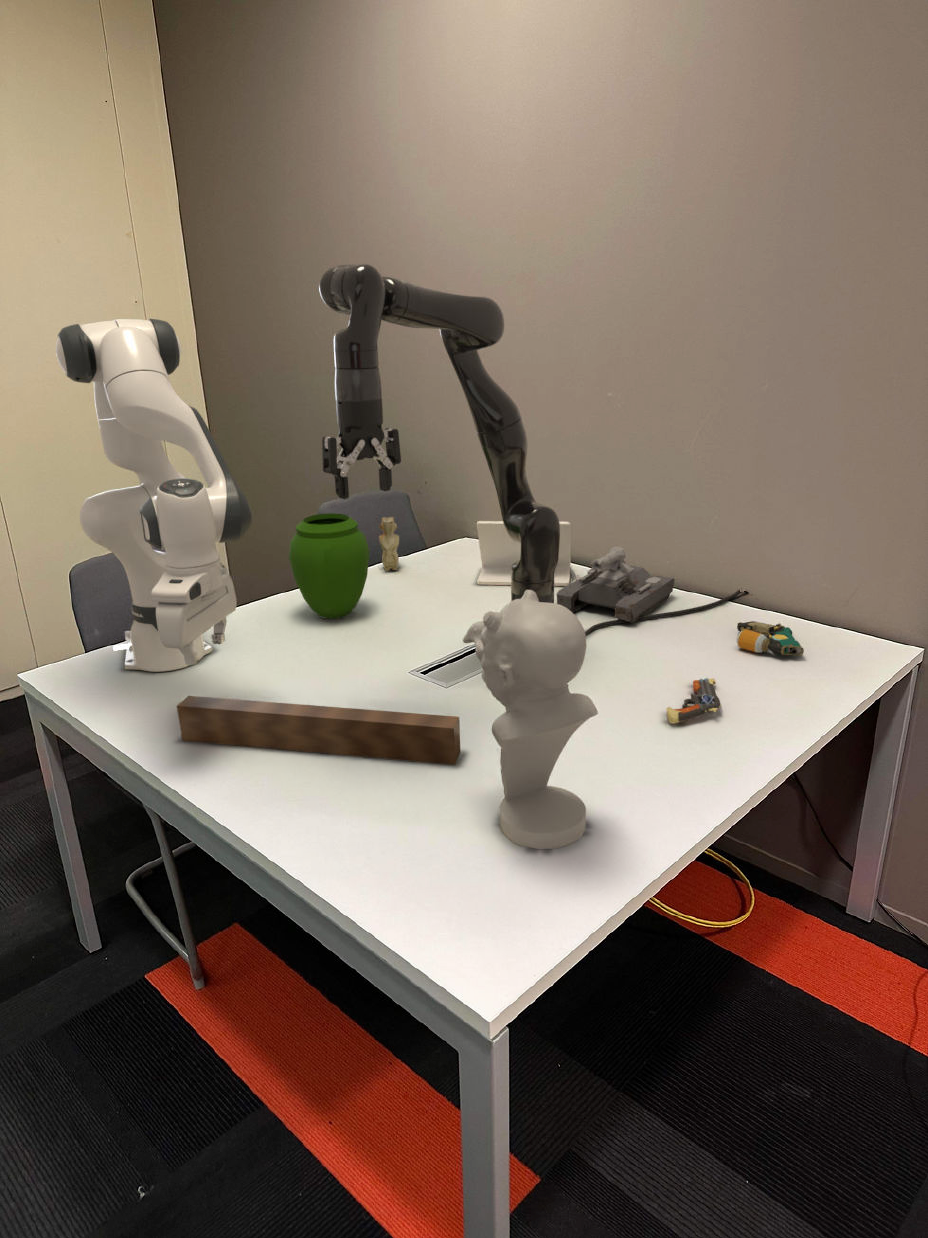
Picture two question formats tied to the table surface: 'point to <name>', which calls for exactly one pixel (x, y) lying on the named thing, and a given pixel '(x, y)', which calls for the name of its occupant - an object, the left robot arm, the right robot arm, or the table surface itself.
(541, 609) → the bust sculpture
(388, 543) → the sculpture
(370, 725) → the beam
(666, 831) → the table surface
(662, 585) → the toy
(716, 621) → the table surface
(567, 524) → the tablet stand
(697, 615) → the table surface
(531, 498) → the right robot arm
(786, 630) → the spray gun
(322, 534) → the vase
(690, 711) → the toy gun
